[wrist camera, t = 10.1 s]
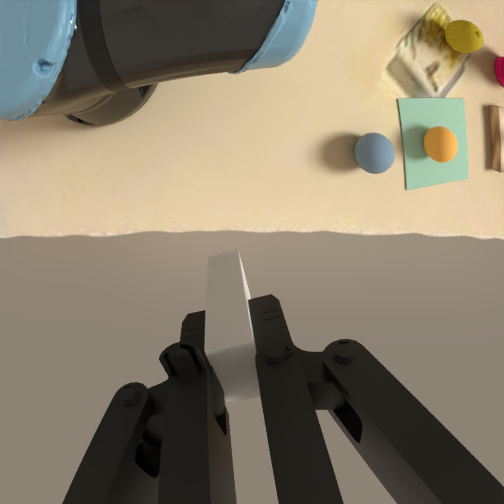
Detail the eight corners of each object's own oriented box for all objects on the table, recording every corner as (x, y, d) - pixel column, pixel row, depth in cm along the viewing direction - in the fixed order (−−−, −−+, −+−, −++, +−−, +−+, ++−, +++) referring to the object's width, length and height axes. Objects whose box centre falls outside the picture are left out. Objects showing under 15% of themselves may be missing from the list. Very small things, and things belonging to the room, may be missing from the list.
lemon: (451, 60, 34) (484, 58, 26) (430, 34, 32) (462, 27, 25) (463, 44, 32) (495, 40, 25) (444, 18, 30) (475, 11, 23)
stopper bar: (500, 168, 42) (509, 171, 40) (491, 169, 42) (500, 172, 40) (498, 106, 37) (507, 107, 35) (489, 105, 37) (498, 106, 35)
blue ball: (401, 137, 33) (389, 133, 38) (359, 132, 34) (352, 129, 38) (397, 179, 35) (386, 170, 40) (356, 176, 36) (350, 167, 41)
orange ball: (458, 133, 32) (460, 128, 36) (421, 124, 35) (427, 121, 39) (453, 170, 35) (456, 162, 38) (419, 161, 38) (425, 154, 42)
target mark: (406, 189, 42) (406, 190, 42) (397, 98, 36) (398, 98, 36) (467, 178, 42) (468, 178, 42) (462, 98, 36) (463, 98, 36)
